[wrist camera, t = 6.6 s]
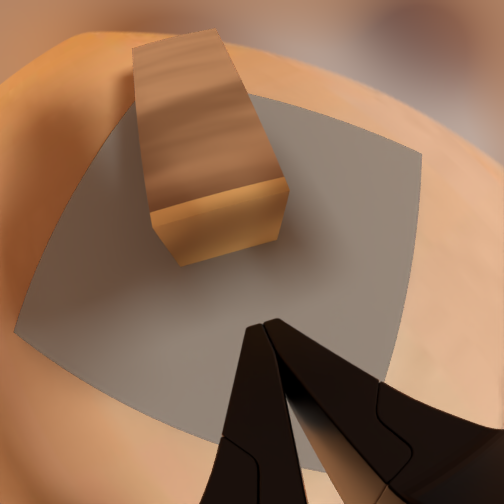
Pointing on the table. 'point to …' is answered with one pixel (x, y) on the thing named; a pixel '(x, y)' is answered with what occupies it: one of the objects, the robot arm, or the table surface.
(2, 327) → the table surface
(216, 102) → the walnut block
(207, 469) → the table surface
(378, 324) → the rubber mat
